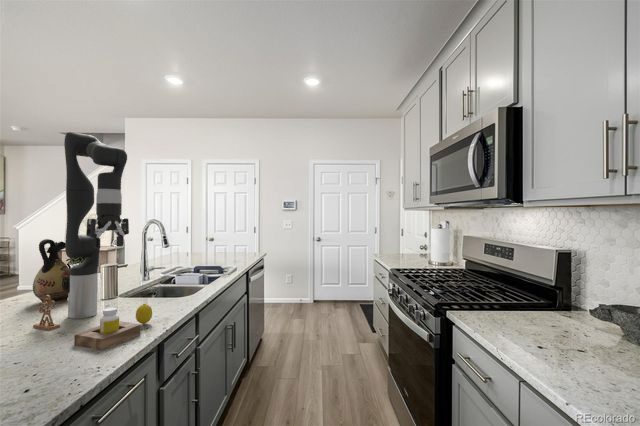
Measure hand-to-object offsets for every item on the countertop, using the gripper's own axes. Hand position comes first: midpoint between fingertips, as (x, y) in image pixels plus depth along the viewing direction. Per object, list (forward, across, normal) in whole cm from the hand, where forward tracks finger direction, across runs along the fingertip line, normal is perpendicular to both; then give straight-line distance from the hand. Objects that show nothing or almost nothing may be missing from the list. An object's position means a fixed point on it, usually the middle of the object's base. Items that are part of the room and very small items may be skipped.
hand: (108, 247), depth 113 cm
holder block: (+30, +5, +7) cm, 31 cm away
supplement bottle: (+30, +5, +7) cm, 31 cm away
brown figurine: (+30, +4, -25) cm, 40 cm away
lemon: (+30, -10, +6) cm, 32 cm away
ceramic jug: (+30, -19, -59) cm, 69 cm away
